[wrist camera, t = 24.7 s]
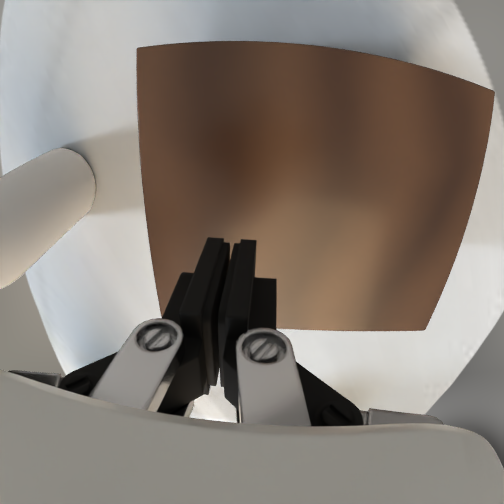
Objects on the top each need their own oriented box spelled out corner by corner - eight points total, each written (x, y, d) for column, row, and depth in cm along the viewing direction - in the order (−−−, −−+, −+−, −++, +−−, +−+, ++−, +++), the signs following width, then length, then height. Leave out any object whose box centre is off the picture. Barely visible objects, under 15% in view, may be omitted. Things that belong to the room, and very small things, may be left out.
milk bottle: (53, 132, 25) (-115, 229, 8) (110, 173, 27) (-47, 313, 10) (32, 191, 29) (-98, 303, 11) (83, 230, 31) (-35, 371, 13)
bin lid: (164, 310, 20) (161, 319, 20) (142, 48, 12) (136, 47, 11) (421, 323, 20) (425, 330, 19) (487, 89, 12) (495, 91, 11)
